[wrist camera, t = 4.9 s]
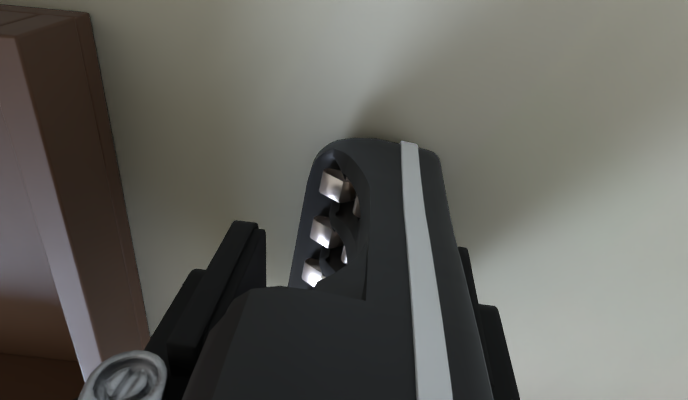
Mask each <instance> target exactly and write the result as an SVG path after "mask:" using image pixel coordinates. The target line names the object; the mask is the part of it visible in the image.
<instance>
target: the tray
mask: <svg viewBox="0 0 688 400" xmlns="http://www.w3.org/2000/svg"><path fill="white" fill-rule="evenodd" d="M149 340H150V334H149V329H148V323H147V318H146V313H145V307H144V302H143V297H142V291H141V286H140V281H139V275H138V270H137V265H136V260H135V254H134V249H133V244H132V238H131V233H130V228H129V222H128V217H127V212H126V206H125V201H124V196H123V191H122V185H121V180H120V175H119V169H118V164H117V159H116V153H115V148H114V143H113V137H112V132H111V127H110V122H109V116H108V111H107V106H106V100H105V95H104V90H103V84H102V79H101V74H100V68H99V63H98V58H97V53H96V47H95V42H94V37H93V31H92V26H91V21H90V15H89V14H88V13H86V12H75V11H64V10H54V9H43V8H33V7H22V6H11V5H1V4H0V400H73V399H75V398H77V397H79V395H80V393H81V391H82V389H83V386H84V384H85V382H86V380H87V378H88V377H89V375H90V374H91V372H92V371H93V370H94V369H95V368H96V367H97V366H98V365H99V364H100V363H102V362H103V361H105V360H107V359H108V358H110V357H112V356H114V355H117V354H119V353H122V352H126V351H133V350H142V351H144V349H145V347H146V345H147V344H148V342H149Z"/></svg>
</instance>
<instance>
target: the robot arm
mask: <svg viewBox="0 0 688 400" xmlns="http://www.w3.org/2000/svg"><path fill="white" fill-rule="evenodd" d="M458 251H459V254H460V258H461V262H462V266H463V270H464V274H465V278H466V282H467V286H468V290H469V295H470V299H471V303H472V307H473V311H474V315H475V320H476V324H477V328H478V332H479V336H480V341H481V345H482V349H483V354H484V358H485V363H486V367H487V372H488V376H489V381H490V385H491V390H492V394H493V399H494V400H520V397H519V393H518V389H517V385H516V381H515V377H514V372H513V368H512V364H511V360H510V356H509V352H508V348H507V344H506V340H505V336H504V331H503V327H502V323H501V319H500V315H499V312H498V309H497V308H496V307H495V306H490V305H482V304H478V299H477V294H476V289H475V284H474V279H473V274H472V269H471V264H470V259H469V254H468V250H467V248H464V247H458ZM264 287H266V232H265V230H263V229H259V228H258V224H257V223H254V222H245V221H237V220H235V221H233V223H232V224H231V226H230V228H229V230H228V232H227V233H226V235H225V237H224V239H223V241H222V242H221V244H220V246H219V248H218V250H217V251H216V253H215V255H214V257H213V259H212V260H211V262H210V264H209V266H208V268H207V269H206V270H202V269H194V270H192V271H191V272H190V274H189V275H188V277H187V278H186V280H185V282H184V283H183V285H182V287H181V289H180V290H179V292H178V294H177V295H176V297H175V299H174V300H173V302H172V304H171V305H170V307H169V309H168V310H167V312H166V314H165V315H164V317H163V319H162V320H161V322H160V324H159V325H158V327H157V329H156V330H155V332H154V334H153V335H152V337H151V339H150V340H149V342H148V344H147V345H146V347H145V349H144V351H142V350H133V351H126V352H122V353H119V354H117V355H114V356H112V357H110V358H108V359H107V360H105V361H103V362H102V363H100V364H99V365H98V366H97V367H96V368H95V369H94V370H93V371H92V372H91V374H90V375H89V377H88V378H87V380H86V382H85V384H84V386H83V389H82V391H81V393H80V395H79V397H77V398H75V399H73V400H182V398H183V395H184V393H185V390H186V388H187V385H188V382H189V380H190V377H191V375H192V372H193V370H194V368H195V365H196V363H197V360H198V358H199V356H200V353H201V351H202V348H203V346H204V344H205V341H206V339H207V336H208V334H209V332H210V331H211V329H212V328H213V327H214V326H215V325H216V324H217V323H218V322H219V320H220V319H221V318H222V317H223V316H224V315H225V314H226V311H227V309H228V307H229V306H230V304H231V302H232V301H233V299H235V298H237V297H238V296H240V295H242V294H243V293H245V292H247V291H248V290H250V289H254V288H264Z"/></svg>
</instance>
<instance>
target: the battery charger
mask: <svg viewBox="0 0 688 400" xmlns="http://www.w3.org/2000/svg"><path fill="white" fill-rule="evenodd" d="M182 400H494V399H493V394H492V390H491V385H490V381H489V376H488V372H487V367H486V363H485V358H484V354H483V349H482V345H481V341H480V336H479V332H478V328H477V324H476V320H475V315H474V311H473V307H472V303H471V299H470V295H469V290H468V286H467V282H466V278H465V274H464V270H463V266H462V262H461V258H460V254H459V251H458V247H457V243H456V239H455V235H454V231H453V227H452V222H451V218H450V213H449V207H448V202H447V197H446V191H445V186H444V181H443V175H442V170H441V163H440V160H439V158H438V156H437V155H436V154H435V153H434V152H432V151H429V150H425V149H421V148H418V145H417V144H415V143H411V142H406V141H401V142H400V144H398V143H394V142H389V141H385V140H380V139H376V138H349V139H342V140H337V141H335V142H332V143H330V144H328V145H327V146H325V147H324V148H323V149H322V150H321V151H320V152H319V153H318V154H317V156H316V158H315V159H314V162H313V165H312V168H311V172H310V175H309V178H308V182H307V186H306V192H305V197H304V202H303V208H302V213H301V219H300V224H299V229H298V235H297V240H296V246H295V251H294V256H293V262H292V267H291V273H290V278H289V283H288V287H284V286H275V287H264V288H254V289H250V290H248V291H247V292H245V293H243V294H242V295H240V296H238V297H237V298H235V299H233V301H232V302H231V304H230V306H229V307H228V309H227V311H226V314H225V315H224V316H223V317H222V318H221V319H220V320H219V322H218V323H217V324H216V325H215V326H214V327H213V328H212V329H211V331H210V332H209V334H208V336H207V339H206V341H205V344H204V346H203V348H202V351H201V353H200V356H199V358H198V360H197V363H196V365H195V368H194V370H193V372H192V375H191V377H190V380H189V382H188V385H187V388H186V390H185V393H184V395H183V398H182Z"/></svg>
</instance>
